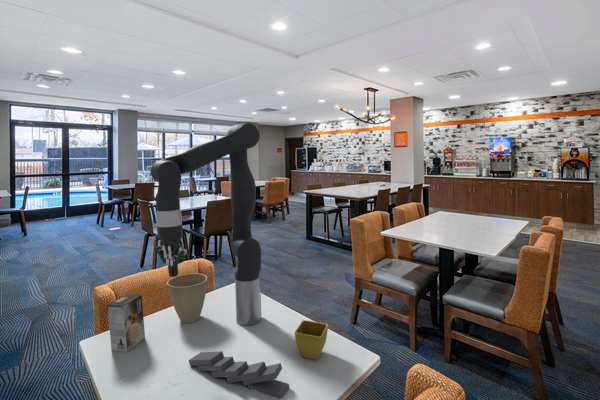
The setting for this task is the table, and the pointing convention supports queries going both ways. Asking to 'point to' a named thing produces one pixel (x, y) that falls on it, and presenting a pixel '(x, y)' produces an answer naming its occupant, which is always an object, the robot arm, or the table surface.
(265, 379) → the domino
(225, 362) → the domino
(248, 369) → the domino
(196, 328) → the table surface
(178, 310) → the plant pot
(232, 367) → the domino
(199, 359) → the domino
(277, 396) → the domino
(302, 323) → the flower pot
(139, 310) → the coffee box
